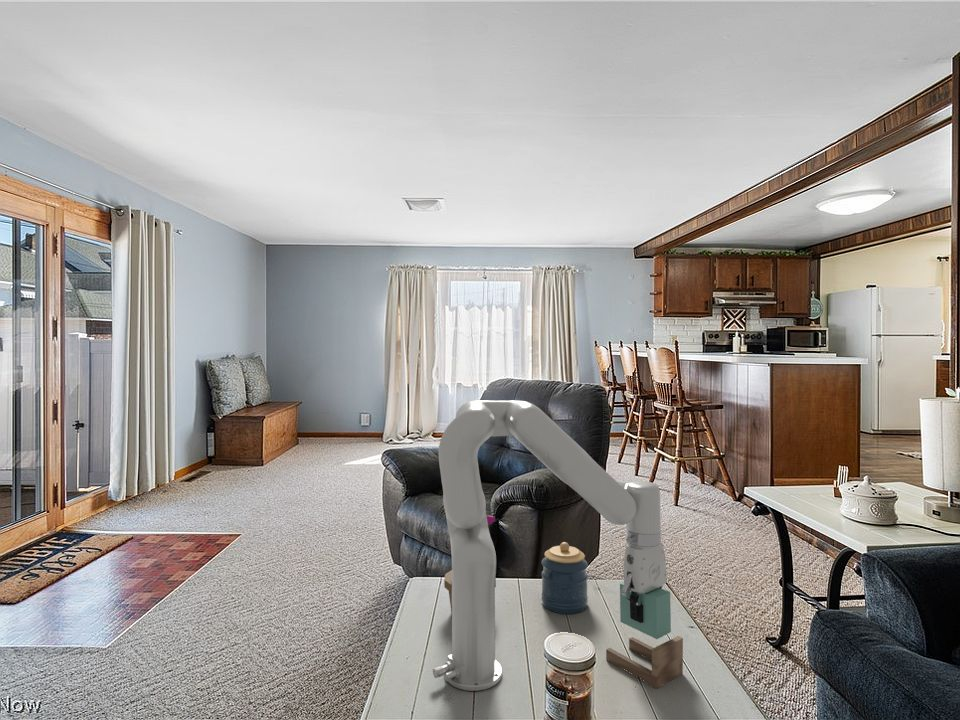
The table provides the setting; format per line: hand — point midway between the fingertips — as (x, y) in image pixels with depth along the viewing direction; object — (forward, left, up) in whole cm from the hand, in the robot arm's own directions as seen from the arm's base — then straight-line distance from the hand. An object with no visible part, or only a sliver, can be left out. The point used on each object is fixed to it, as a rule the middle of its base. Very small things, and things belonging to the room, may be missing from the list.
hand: (644, 615), depth 127 cm
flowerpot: (-17, +44, -12) cm, 49 cm away
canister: (+8, +33, -12) cm, 36 cm away
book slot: (0, 0, -12) cm, 12 cm away
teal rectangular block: (0, 0, -3) cm, 3 cm away
